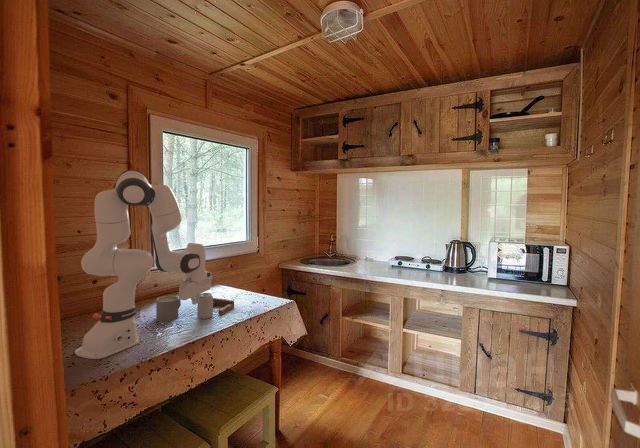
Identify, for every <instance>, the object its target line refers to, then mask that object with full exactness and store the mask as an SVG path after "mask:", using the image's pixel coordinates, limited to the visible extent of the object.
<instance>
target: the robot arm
mask: <svg viewBox="0 0 640 448" xmlns="http://www.w3.org/2000/svg"><path fill="white" fill-rule="evenodd" d="M129 206H130V207H131V206H132V207H133V206H134V207H139V206H141V207H143V206H145V207H146V206H148V209H149V211H150V214H151V218H152V222H151V225H150V233H151V235H150V236H151V239H152V244H153V250H154V257H155V258H154V257H153V255H152V253H151V252H149V251H148V250H143V249H139V248H138V249H137V248H118V245H120V244H122V243H124V242H125V241H127V240H128V239H129V237H131V226H130V225H131V224H130V216H129ZM182 217H183V216H182V212H181V208H180V206H179V202H178V200H177V198H176V196H175V194H174V192H173V190H172V188H171V187H170V186H169V185H166V184H154V185H153V184H150V182H149V181H148V178H147V176H146V175H145V174H144V173H143V172H141V171H139V170H136V169H127V170H124V171H123V172H122V173H120V174H119V175H118V177H117V179H116V181H115V183H114V184H113V189H108V190H103V191H101V192H98V193H97V194H96V195H95V198H94V220H95V227H96V241H95V244H94V246H93V247H92V248H91V249H89V250H88V251H87V252H86V253H84V255H83V256H82V258H81V262H80V264H81V268H82V270H83V271H84V272H85V274H88V275H93V276H99V277H103V276H104V277H106V276H107V277H108V276H112V277H113V276H117V277H118V281H116V282H115V283H112V284H111V285H109V286H107V287H106V288H104V291H103V293H102V309H101V312H100V313H97V312H95V313H93V315H92V317H93V319H97V320H98V321H97V322H96V323H95V324H94V326H93V327H91V329H89V330H88V331H87V333H86V334H84V337H83V339H82V345H81V346H80V347H78V348H77V349H75V350H74V355H76V356H77V357H80V358H84V359H91V360H99V359H104V358H107V357H109V356H112V355H114V354H116V353H119V352H122V351H123V350H126V349H128V348H130V347H134V346H136V345H139V344H140V341H139V340H140V335H139V333H138V328H137V322H136V315H137V314H136V313H137V312H136V311H137V310H136V308H137V307H136V305H135V299H136V298H135V297H136V289H137V285H138V283H139V282H140V280H141V279H142V278H143V277H144V276H146V275H147V274H148V273H149V272H150V271H151V270H152V268H153V266H154V261H155V267H156V268H157V270H158V271H160V272H161V273H165V272H166V273H177V274H185V279H183V280H182V282H181V283H180V284H179V287H178V298H179V299H180V300H181V301H187V300H189V299H190V300H191V304H192V305H198V303H199V298H200V296H201V294H202V293H206V292H207V291H210V289H211V288H212V277H211V276H212V272H211V271H208V270H206V266H205V265H206V264H205V263H206V247H205V245H204V244H202V243H197V242H188V243H187V245H186V247H185V248H184V249H183V250H181V251H177V250H172V249H171V248H170V247H169V242H168V236H167V233H169V232H171V231H173V230H175V229H176V228H178V227H179V226H180V224H181V222H182V220H183V218H182Z"/></svg>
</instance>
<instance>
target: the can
mask: <svg viewBox="0 0 640 448" xmlns="http://www.w3.org/2000/svg"><path fill="white" fill-rule="evenodd" d="M213 298H214V296H213V294H212V293H211V292H203V293H201V296H200V298H199V303H197V317H198V318H199V319H201V320H207V318H208V319H210V318H212V317H213V315H214V307H213Z"/></svg>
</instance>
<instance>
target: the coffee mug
mask: <svg viewBox="0 0 640 448" xmlns="http://www.w3.org/2000/svg"><path fill="white" fill-rule="evenodd" d="M181 301H182V300H180V299H179V296H177V295H163V296H159V297H157V299H156V301H155V302H156V306H155V307H156V310H155V312H156V314H155V315H156V316H155V318H156V319H155V320H156V321H158V322H160V323H161V322H162V323H164V322H168V323H169V322H172V321H176V320H177V319H179V309H180V308H181V303H182V302H181Z"/></svg>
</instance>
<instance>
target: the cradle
mask: <svg viewBox="0 0 640 448" xmlns="http://www.w3.org/2000/svg"><path fill="white" fill-rule="evenodd" d="M219 306H220V307H221V308H220V307H219ZM214 307H219V309H218V312H217V314H219V316H222V314H223V315H225V314H226V313H228V312H230V311H231V310H232V308H233V307H234V308H235V300H232V299H225V298H218V297H213V308H214ZM234 308H233V309H234ZM230 309H231V310H230ZM227 311H228V312H227ZM225 312H226V313H225ZM224 313H225V314H224Z"/></svg>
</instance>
